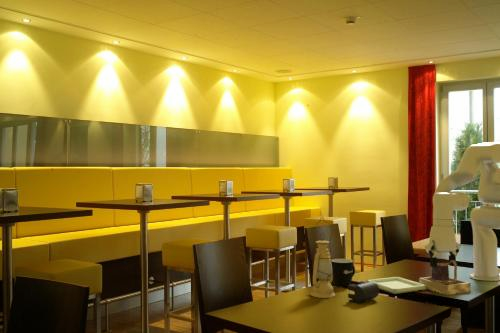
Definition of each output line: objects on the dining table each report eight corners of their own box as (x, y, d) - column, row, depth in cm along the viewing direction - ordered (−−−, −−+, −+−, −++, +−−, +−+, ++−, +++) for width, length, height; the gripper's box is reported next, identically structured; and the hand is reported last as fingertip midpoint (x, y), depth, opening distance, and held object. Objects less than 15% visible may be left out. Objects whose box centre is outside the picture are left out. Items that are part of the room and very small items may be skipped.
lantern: (321, 290, 201) (320, 215, 201) (342, 294, 194) (341, 216, 194) (302, 295, 192) (301, 217, 192) (323, 300, 185) (322, 219, 185)
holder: (442, 283, 210) (441, 275, 210) (470, 291, 196) (470, 282, 196) (419, 286, 205) (419, 278, 205) (446, 294, 191) (446, 285, 191)
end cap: (363, 305, 177) (363, 286, 177) (347, 302, 183) (347, 283, 183) (379, 300, 184) (379, 282, 184) (363, 297, 189) (363, 279, 189)
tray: (397, 280, 216) (397, 276, 216) (426, 289, 200) (426, 285, 200) (366, 284, 210) (366, 280, 210) (394, 293, 194) (394, 289, 194)
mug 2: (427, 288, 202) (427, 258, 202) (435, 285, 207) (435, 256, 207) (452, 292, 194) (452, 262, 194) (460, 289, 199) (460, 259, 199)
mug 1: (343, 288, 204) (343, 263, 204) (327, 284, 211) (326, 260, 211) (362, 284, 211) (362, 260, 211) (346, 280, 218) (346, 257, 218)
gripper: (452, 222, 207) (452, 263, 207) (419, 223, 201) (419, 266, 200) (466, 223, 200) (466, 266, 200) (432, 224, 194) (432, 269, 193)
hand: (442, 266), depth 200 cm, fingers open, 9 cm apart
